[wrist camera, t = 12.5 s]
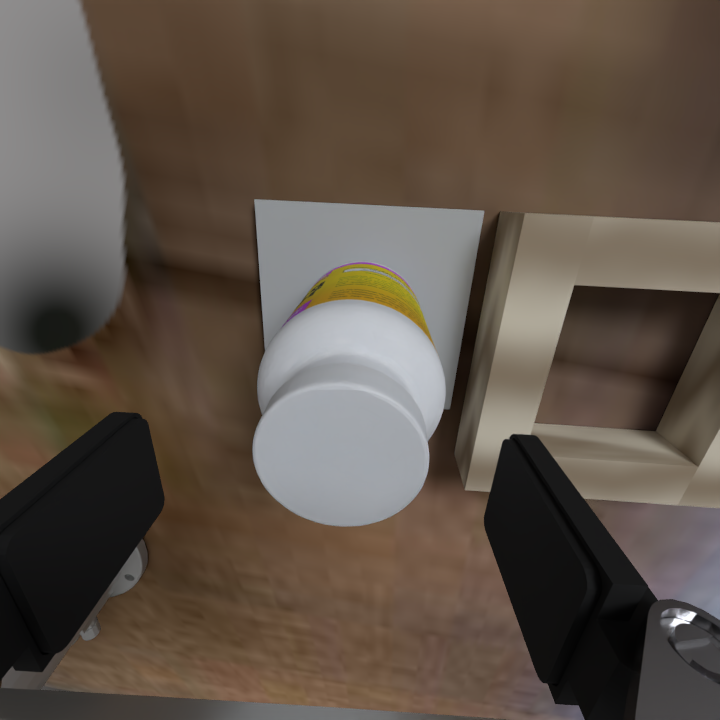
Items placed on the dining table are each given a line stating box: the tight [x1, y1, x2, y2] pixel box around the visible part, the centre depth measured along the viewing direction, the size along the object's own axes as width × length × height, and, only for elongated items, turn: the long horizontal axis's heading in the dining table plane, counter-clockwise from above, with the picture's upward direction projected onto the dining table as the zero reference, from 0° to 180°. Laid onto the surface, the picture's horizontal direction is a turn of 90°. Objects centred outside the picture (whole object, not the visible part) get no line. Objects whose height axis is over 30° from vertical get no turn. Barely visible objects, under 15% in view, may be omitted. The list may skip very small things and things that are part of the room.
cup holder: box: [454, 212, 720, 508], centre depth 20 cm, size 16×16×4 cm
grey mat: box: [254, 199, 484, 409], centre depth 21 cm, size 12×12×1 cm
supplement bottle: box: [252, 261, 446, 526], centre depth 15 cm, size 7×7×13 cm
